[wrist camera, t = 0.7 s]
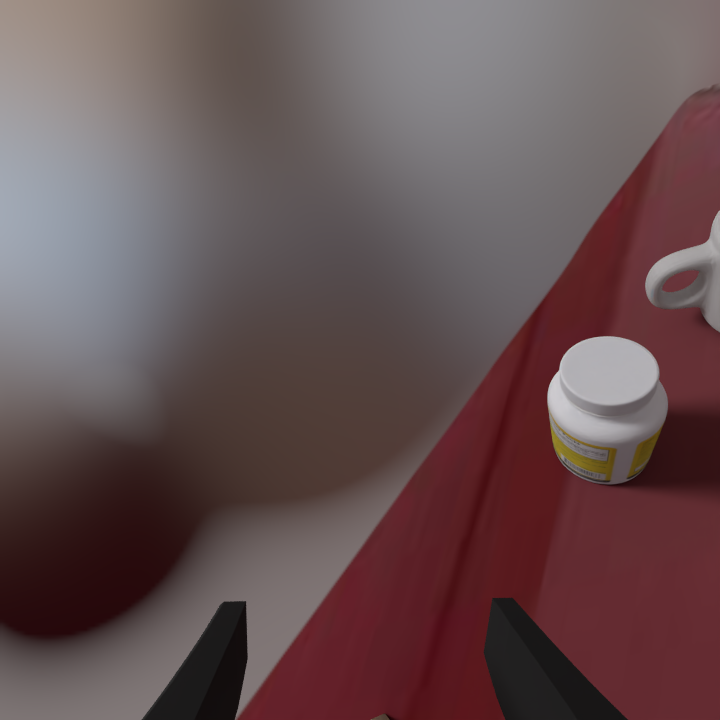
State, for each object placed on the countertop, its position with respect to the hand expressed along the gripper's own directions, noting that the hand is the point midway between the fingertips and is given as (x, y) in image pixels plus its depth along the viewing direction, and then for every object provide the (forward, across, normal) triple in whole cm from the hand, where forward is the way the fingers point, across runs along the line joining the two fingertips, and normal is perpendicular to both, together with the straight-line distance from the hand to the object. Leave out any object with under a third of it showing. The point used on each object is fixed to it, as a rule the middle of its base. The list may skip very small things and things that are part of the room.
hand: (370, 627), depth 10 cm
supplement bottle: (+13, -17, +1) cm, 21 cm away
